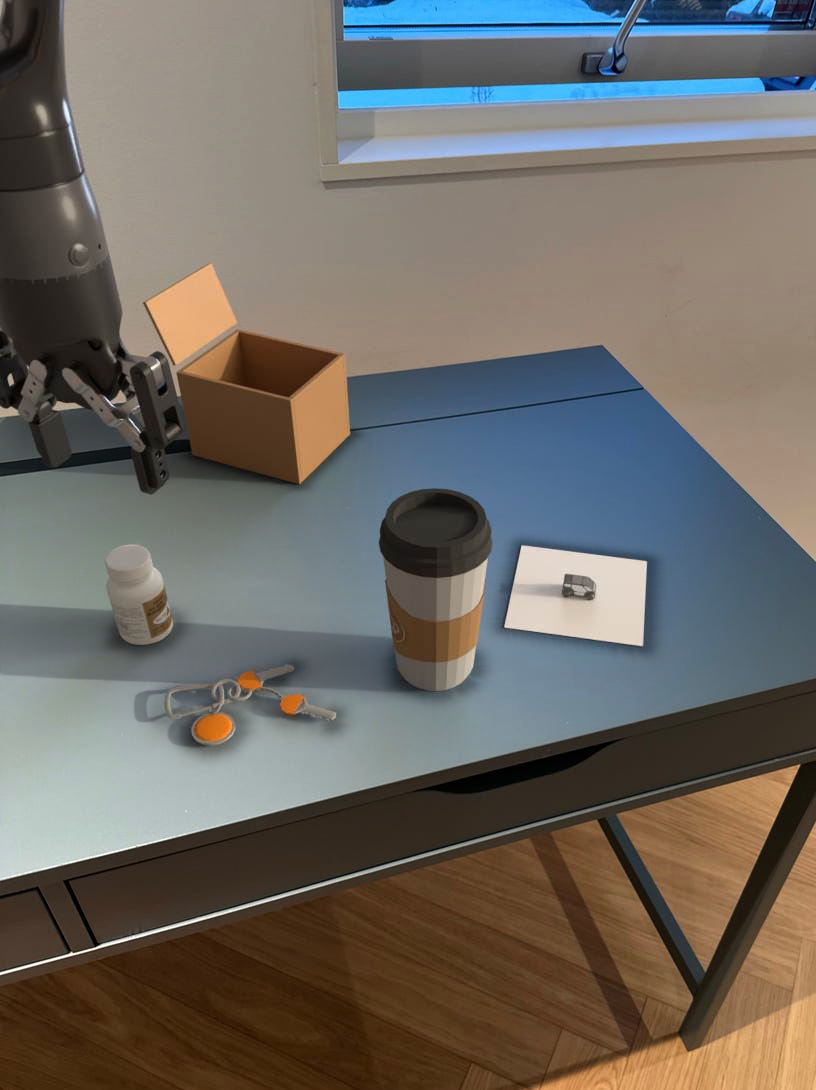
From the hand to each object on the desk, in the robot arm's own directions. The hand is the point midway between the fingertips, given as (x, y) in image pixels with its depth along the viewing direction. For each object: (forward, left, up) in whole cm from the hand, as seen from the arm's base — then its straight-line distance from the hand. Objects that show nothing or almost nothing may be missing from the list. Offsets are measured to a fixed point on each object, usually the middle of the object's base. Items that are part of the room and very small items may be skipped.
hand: (106, 474), depth 69 cm
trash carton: (-6, +30, -15) cm, 34 cm away
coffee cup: (+24, +6, -16) cm, 29 cm away
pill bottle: (0, 0, -16) cm, 16 cm away
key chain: (+13, -4, -15) cm, 20 cm away
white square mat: (+32, +20, -16) cm, 41 cm away
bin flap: (-14, +30, -2) cm, 33 cm away
